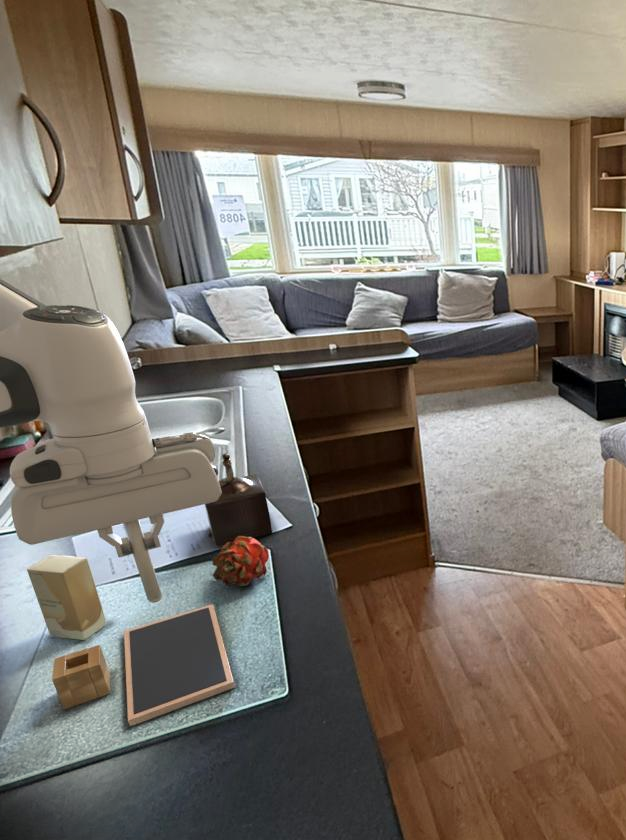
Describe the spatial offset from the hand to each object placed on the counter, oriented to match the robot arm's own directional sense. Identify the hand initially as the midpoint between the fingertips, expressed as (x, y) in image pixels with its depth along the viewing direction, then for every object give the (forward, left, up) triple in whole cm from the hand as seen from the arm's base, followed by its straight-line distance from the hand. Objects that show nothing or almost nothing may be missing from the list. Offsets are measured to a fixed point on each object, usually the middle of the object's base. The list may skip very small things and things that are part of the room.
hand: (139, 550), depth 81 cm
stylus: (0, 0, -8) cm, 8 cm away
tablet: (0, +7, -22) cm, 23 cm away
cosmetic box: (-12, +24, -22) cm, 35 cm away
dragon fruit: (+11, +25, -22) cm, 35 cm away
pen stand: (-11, +7, -22) cm, 25 cm away
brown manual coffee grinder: (+13, +42, -22) cm, 49 cm away
